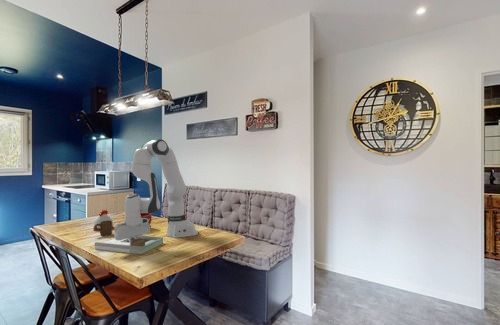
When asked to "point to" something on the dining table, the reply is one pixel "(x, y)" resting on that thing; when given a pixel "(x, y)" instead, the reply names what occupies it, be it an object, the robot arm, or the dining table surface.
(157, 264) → the dining table surface
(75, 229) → the dining table surface
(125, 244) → the white board with recesses
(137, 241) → the block
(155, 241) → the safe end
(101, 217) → the kitchen timer
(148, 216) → the plant pot
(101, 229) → the mug
